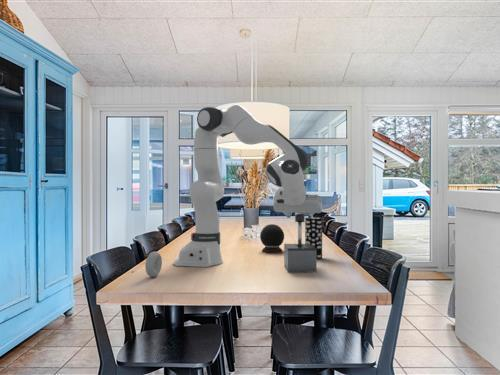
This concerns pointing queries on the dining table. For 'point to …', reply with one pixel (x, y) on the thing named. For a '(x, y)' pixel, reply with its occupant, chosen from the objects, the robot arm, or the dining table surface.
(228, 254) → the dining table surface
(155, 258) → the grey thick disc
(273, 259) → the dining table surface
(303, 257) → the block
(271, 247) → the black ball on stand
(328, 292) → the dining table surface
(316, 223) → the spotted tube
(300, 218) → the plunger
